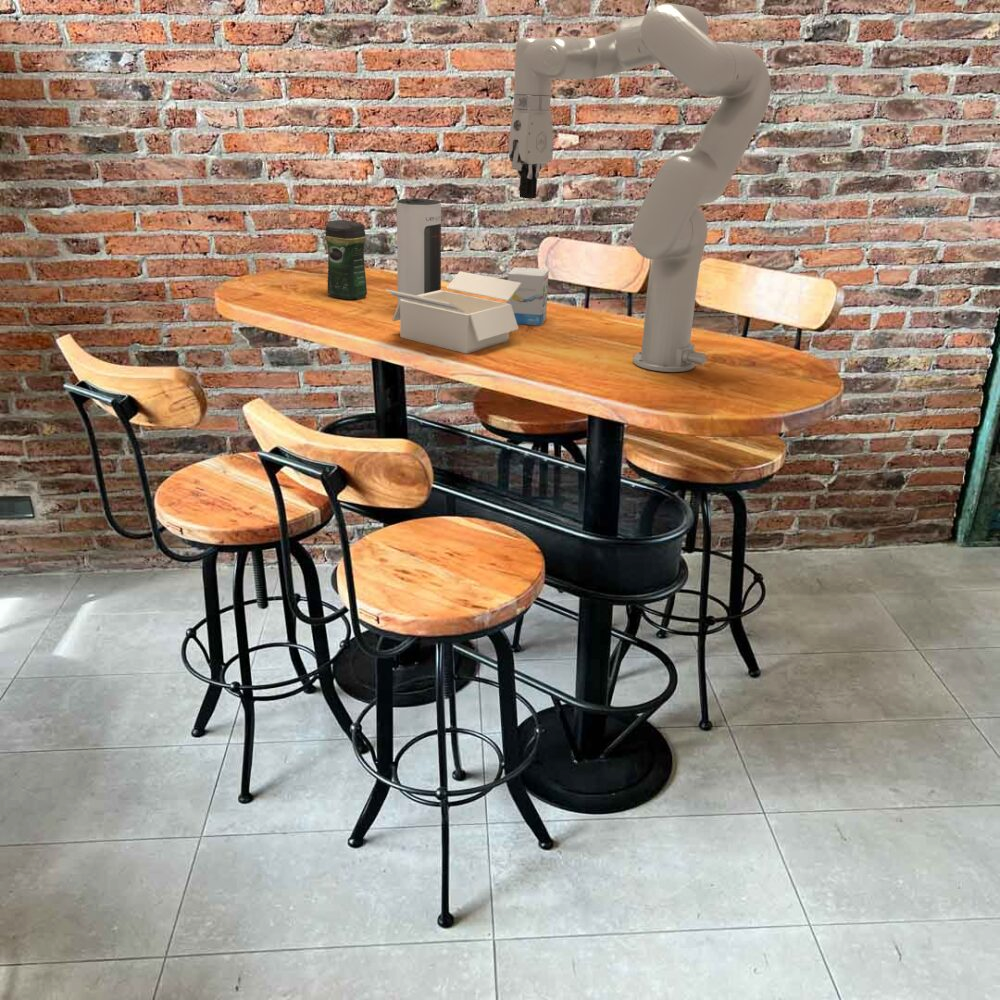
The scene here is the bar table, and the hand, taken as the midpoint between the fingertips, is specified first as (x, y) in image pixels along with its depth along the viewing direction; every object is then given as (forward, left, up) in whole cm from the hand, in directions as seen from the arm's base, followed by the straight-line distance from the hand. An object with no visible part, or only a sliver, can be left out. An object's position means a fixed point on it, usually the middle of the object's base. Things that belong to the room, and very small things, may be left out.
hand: (527, 197), depth 207 cm
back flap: (+7, +8, -21) cm, 23 cm away
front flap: (+7, +22, -21) cm, 31 cm away
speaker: (+29, +2, -29) cm, 41 cm away
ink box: (+6, -10, -29) cm, 32 cm away
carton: (+7, +15, -29) cm, 33 cm away
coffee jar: (+53, +2, -29) cm, 61 cm away
